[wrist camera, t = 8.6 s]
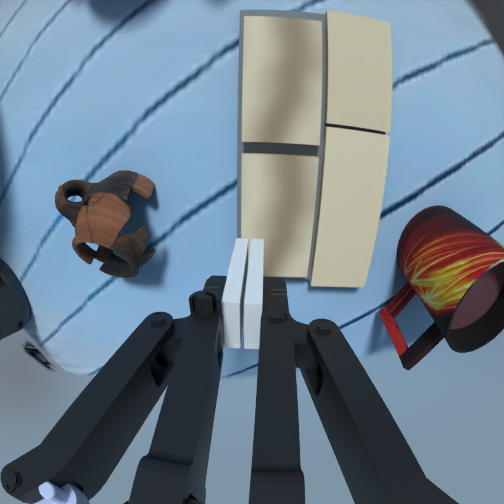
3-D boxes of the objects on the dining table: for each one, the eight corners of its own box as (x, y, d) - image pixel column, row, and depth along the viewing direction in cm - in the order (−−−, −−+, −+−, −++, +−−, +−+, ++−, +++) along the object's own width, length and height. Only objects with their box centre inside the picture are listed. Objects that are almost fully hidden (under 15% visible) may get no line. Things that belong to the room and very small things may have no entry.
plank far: (242, 269, 28) (241, 275, 27) (242, 152, 23) (241, 154, 22) (305, 271, 27) (306, 277, 26) (316, 156, 22) (318, 157, 21)
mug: (375, 309, 30) (406, 387, 20) (409, 198, 24) (479, 250, 14) (435, 311, 30) (474, 376, 19) (472, 213, 24) (538, 262, 13)
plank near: (242, 140, 22) (241, 141, 21) (244, 20, 17) (244, 16, 16) (316, 144, 22) (319, 145, 21) (318, 25, 17) (321, 21, 16)
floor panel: (238, 271, 29) (236, 282, 27) (241, 14, 18) (238, 5, 16) (359, 276, 28) (364, 287, 26) (381, 29, 17) (390, 23, 15)
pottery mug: (185, 190, 26) (158, 262, 22) (155, 232, 33) (133, 291, 29) (83, 137, 21) (35, 200, 17) (73, 190, 28) (41, 246, 23)
